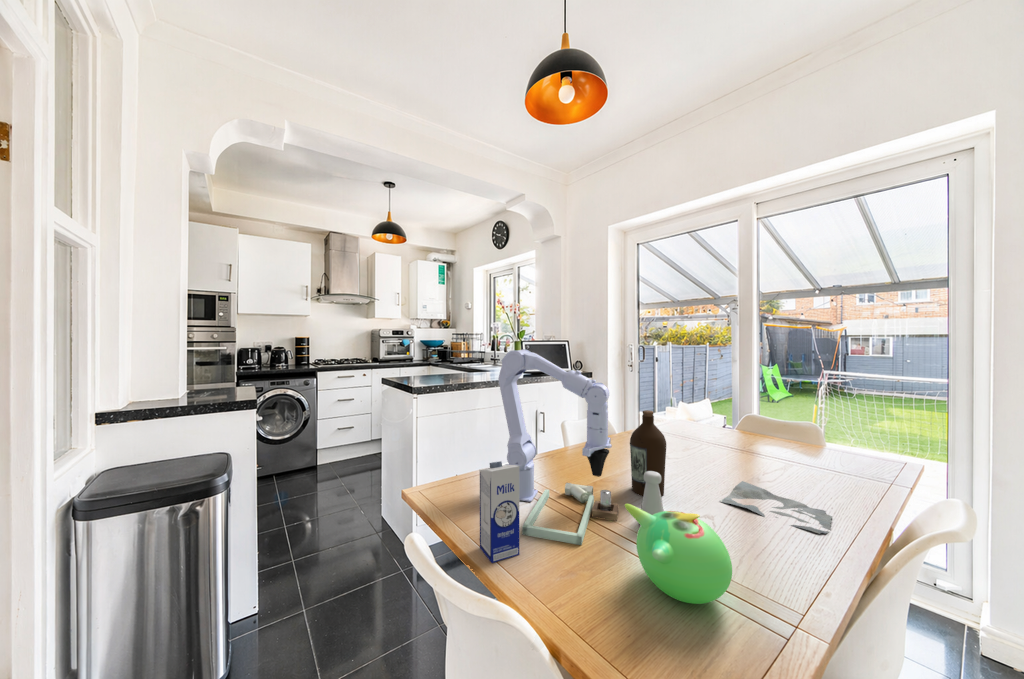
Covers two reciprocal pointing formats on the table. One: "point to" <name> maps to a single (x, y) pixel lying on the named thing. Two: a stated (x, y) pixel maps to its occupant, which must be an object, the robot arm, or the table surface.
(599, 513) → the tan square frame
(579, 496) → the pipe fitting
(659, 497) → the salt shaker
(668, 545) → the toy bird
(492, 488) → the milk carton
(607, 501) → the pin
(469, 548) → the table surface
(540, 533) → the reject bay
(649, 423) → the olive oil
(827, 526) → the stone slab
